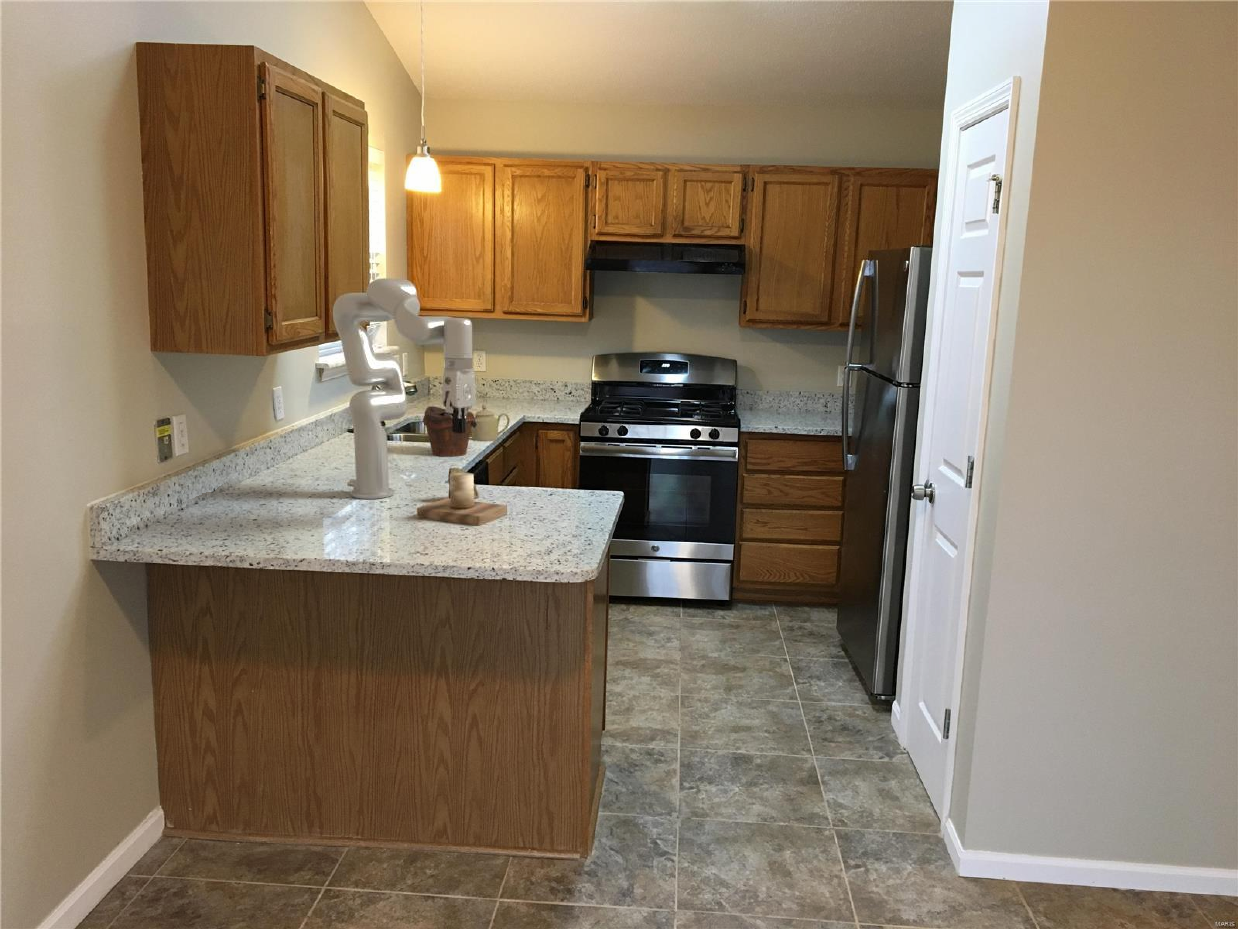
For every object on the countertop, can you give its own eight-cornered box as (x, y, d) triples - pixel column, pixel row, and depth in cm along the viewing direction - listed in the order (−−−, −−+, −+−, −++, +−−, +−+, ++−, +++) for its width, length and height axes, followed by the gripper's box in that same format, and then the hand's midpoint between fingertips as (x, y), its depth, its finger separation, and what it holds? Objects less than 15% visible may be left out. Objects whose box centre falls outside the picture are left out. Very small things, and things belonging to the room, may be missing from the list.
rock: (476, 487, 284) (444, 484, 281) (483, 468, 279) (449, 465, 275) (479, 514, 277) (446, 512, 274) (486, 495, 271) (452, 493, 268)
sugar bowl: (497, 435, 401) (497, 401, 398) (511, 439, 392) (510, 403, 390) (466, 438, 392) (466, 403, 390) (479, 442, 384) (479, 405, 381)
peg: (446, 517, 256) (445, 475, 253) (459, 512, 261) (458, 472, 259) (465, 519, 253) (464, 478, 251) (478, 514, 259) (478, 474, 257)
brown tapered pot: (479, 456, 349) (478, 408, 346) (425, 459, 344) (423, 410, 341) (474, 449, 366) (473, 404, 363) (422, 451, 361) (420, 405, 358)
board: (417, 517, 255) (417, 508, 254) (447, 507, 267) (446, 498, 267) (479, 525, 247) (479, 516, 246) (507, 514, 259) (507, 505, 259)
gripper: (453, 367, 242) (454, 437, 245) (485, 363, 255) (485, 430, 259) (429, 365, 245) (431, 435, 248) (462, 362, 258) (463, 428, 262)
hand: (459, 432), depth 253 cm, fingers closed
